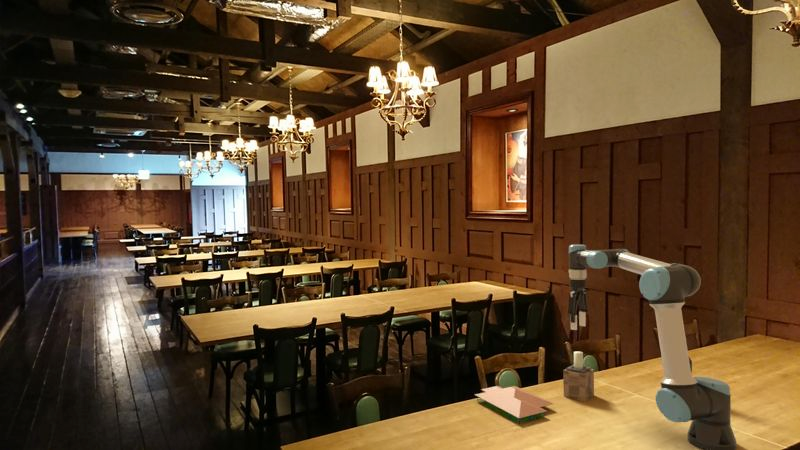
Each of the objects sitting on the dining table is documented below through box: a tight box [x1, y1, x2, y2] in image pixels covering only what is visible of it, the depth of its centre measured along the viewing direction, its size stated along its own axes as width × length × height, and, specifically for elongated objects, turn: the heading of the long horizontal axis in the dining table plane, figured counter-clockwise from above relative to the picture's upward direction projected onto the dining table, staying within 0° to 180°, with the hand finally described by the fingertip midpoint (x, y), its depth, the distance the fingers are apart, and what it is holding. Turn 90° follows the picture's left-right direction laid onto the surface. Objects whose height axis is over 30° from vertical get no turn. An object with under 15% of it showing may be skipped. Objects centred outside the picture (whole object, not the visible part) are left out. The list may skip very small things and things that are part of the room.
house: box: [474, 385, 555, 425], centre depth 222 cm, size 23×33×8 cm
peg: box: [573, 351, 584, 370], centre depth 233 cm, size 4×4×12 cm
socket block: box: [562, 363, 595, 402], centre depth 233 cm, size 10×10×13 cm
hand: (578, 327), depth 232 cm, fingers open, 9 cm apart
